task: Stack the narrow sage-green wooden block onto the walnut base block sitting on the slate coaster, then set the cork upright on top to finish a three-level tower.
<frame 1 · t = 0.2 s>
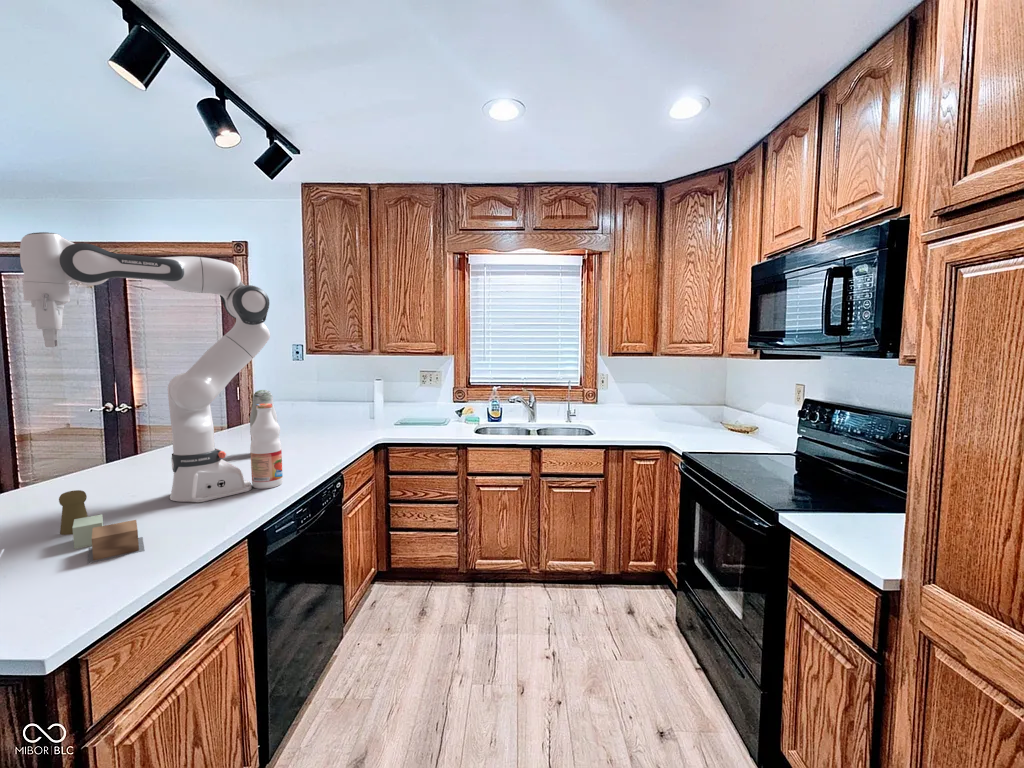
hand: (51, 346, 127), 48 cm above the counter, fingers open, 8 cm apart
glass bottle: (265, 454, 205), on the counter
slate coaster: (116, 552, 111), on the counter
walnut base block: (116, 549, 111), point 1 cm above the counter, touching slate coaster
fruit juice: (267, 485, 162), on the counter
cork: (75, 533, 122), on the counter
sage block: (89, 544, 115), on the counter
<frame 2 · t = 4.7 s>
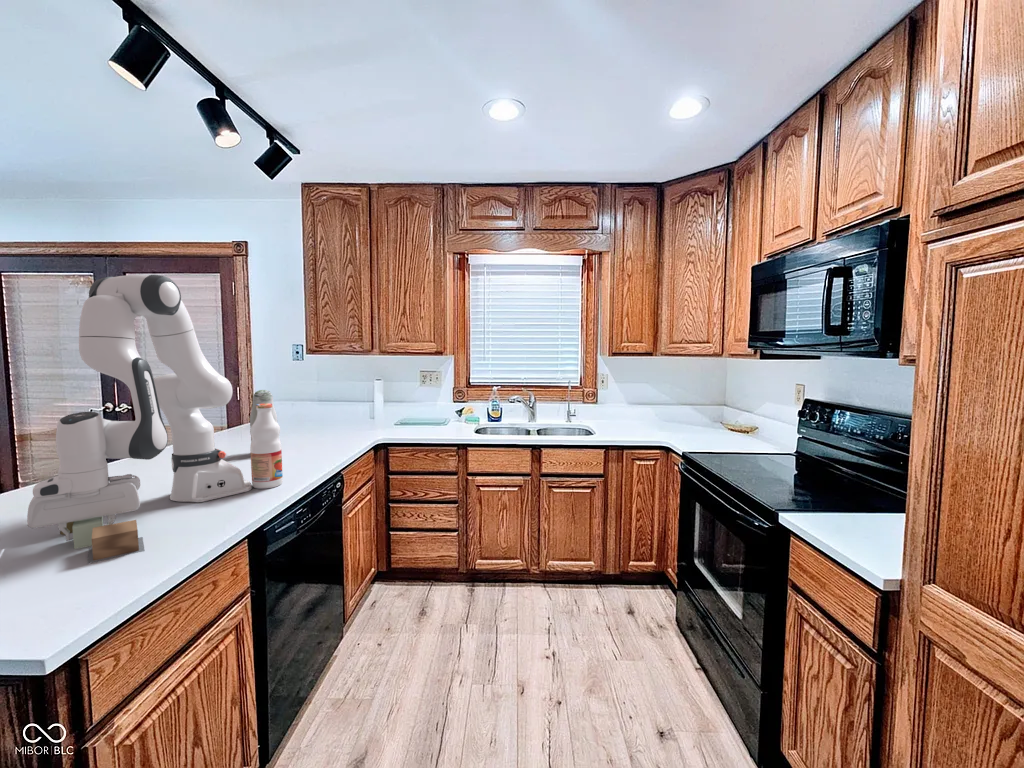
hand: (89, 535, 115), 2 cm above the counter, fingers closed on sage block, 5 cm apart
sage block: (89, 544, 115), on the counter, touching gripper
everything else where it was.
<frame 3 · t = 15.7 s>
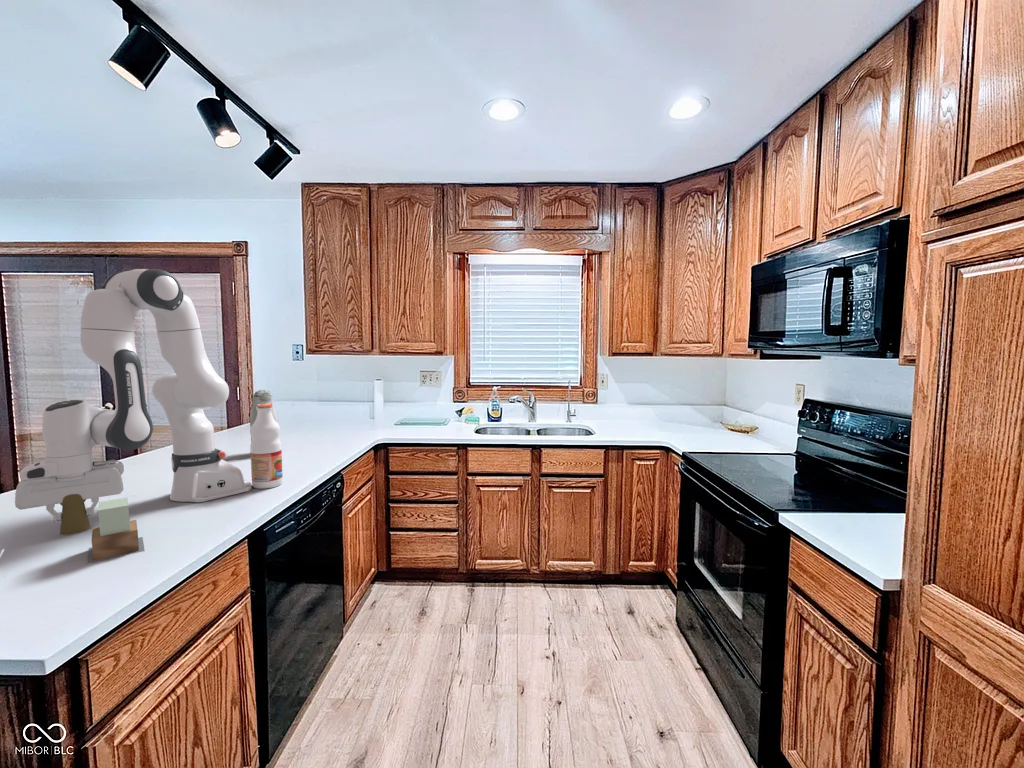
hand: (74, 517, 121), 4 cm above the counter, fingers closed on cork, 5 cm apart
walnut base block: (116, 549, 111), point 1 cm above the counter, touching sage block, slate coaster
cork: (75, 533, 122), on the counter, touching gripper
sage block: (115, 528, 110), point 6 cm above the counter, touching walnut base block
everything else where it was.
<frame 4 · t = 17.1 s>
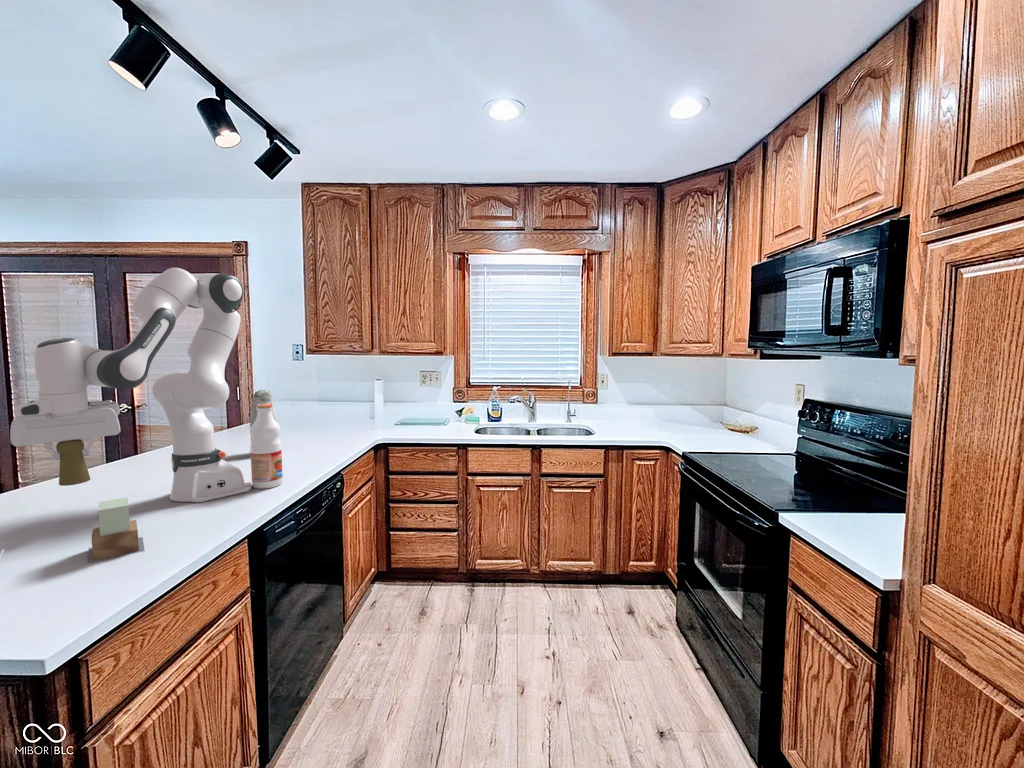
hand: (71, 457, 120), 20 cm above the counter, fingers closed on cork, 4 cm apart
cork: (75, 482, 121), point 13 cm above the counter, touching gripper
everything else where it was.
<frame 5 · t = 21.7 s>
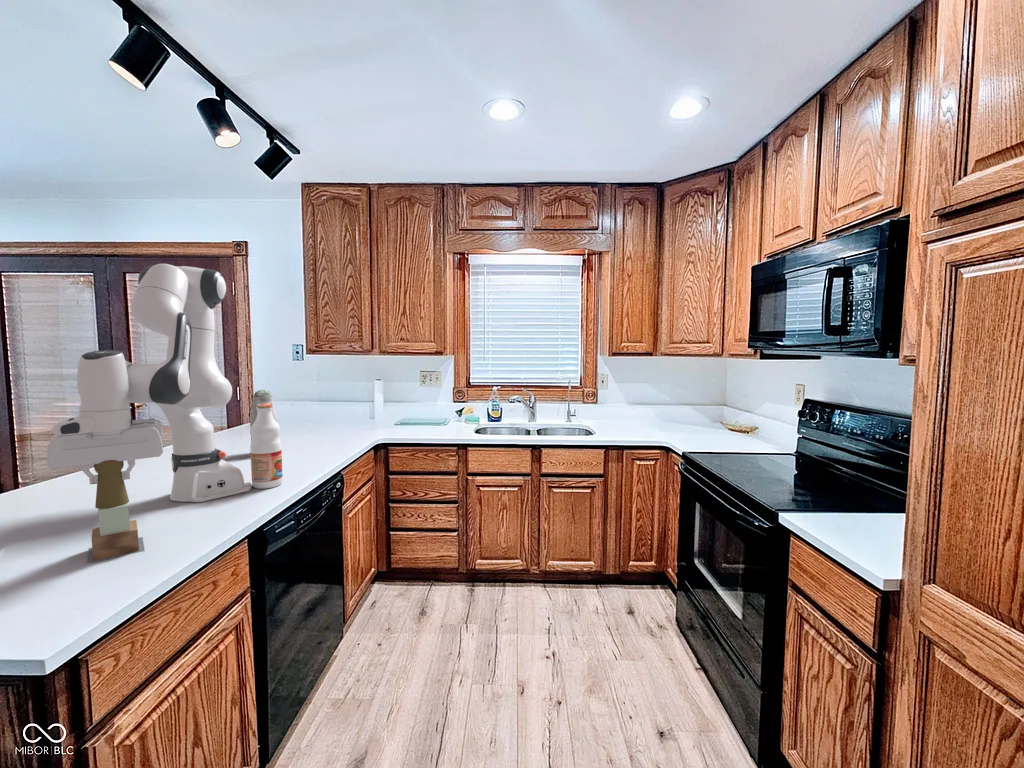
hand: (110, 481, 109), 17 cm above the counter, fingers closed on cork, 4 cm apart
cork: (112, 504, 110), point 12 cm above the counter, touching gripper, sage block
sage block: (115, 528, 110), point 6 cm above the counter, touching cork, walnut base block
everything else where it was.
when the fingers open (17 cm above the counter, at t = 21.9 s): cork stays where it is, resting on sage block.
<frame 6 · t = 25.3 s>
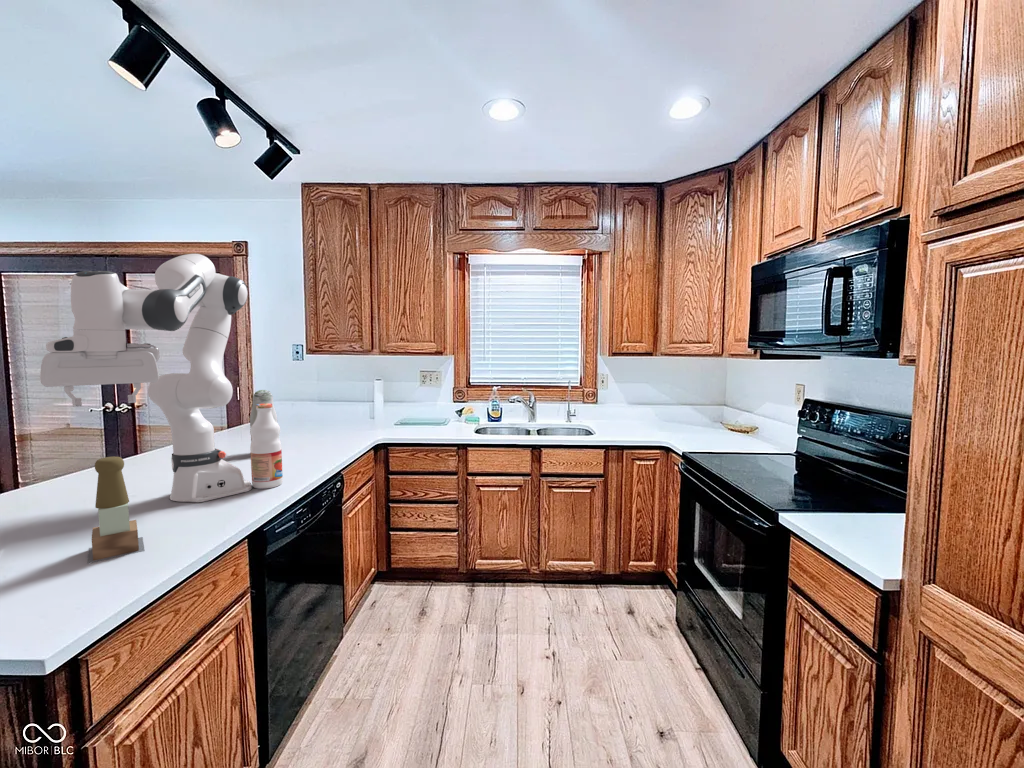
hand: (105, 404, 107), 35 cm above the counter, fingers open, 8 cm apart
cork: (112, 504, 110), point 12 cm above the counter, touching sage block
everything else where it was.
at the end: sage block inside the target area on the walnut base block (0.1 cm from its centre), point 5.0 cm above the walnut base block's base; cork inside the target area on the walnut base block (0.1 cm from its centre), point 10.8 cm above the walnut base block's base; cork tilted 0° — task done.
